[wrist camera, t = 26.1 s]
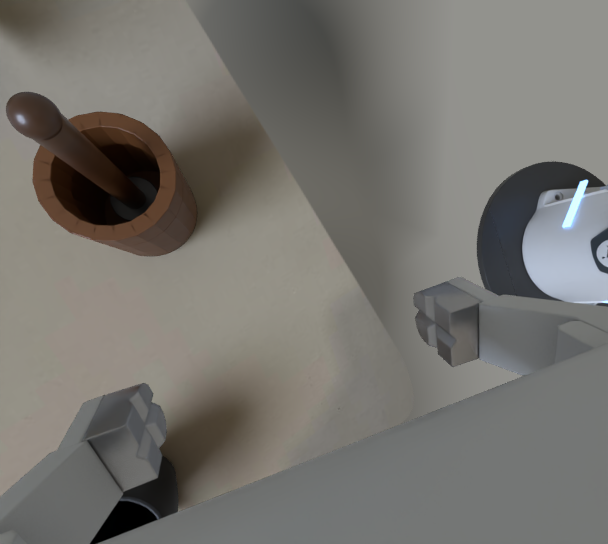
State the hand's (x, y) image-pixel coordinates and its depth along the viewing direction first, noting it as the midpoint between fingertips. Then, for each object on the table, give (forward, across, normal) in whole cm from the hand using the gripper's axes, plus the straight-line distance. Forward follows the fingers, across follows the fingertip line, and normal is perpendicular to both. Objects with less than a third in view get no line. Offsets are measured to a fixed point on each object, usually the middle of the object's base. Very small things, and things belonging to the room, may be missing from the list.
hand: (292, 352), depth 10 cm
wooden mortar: (+32, +10, -2) cm, 33 cm away
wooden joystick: (+31, +10, -2) cm, 33 cm away
